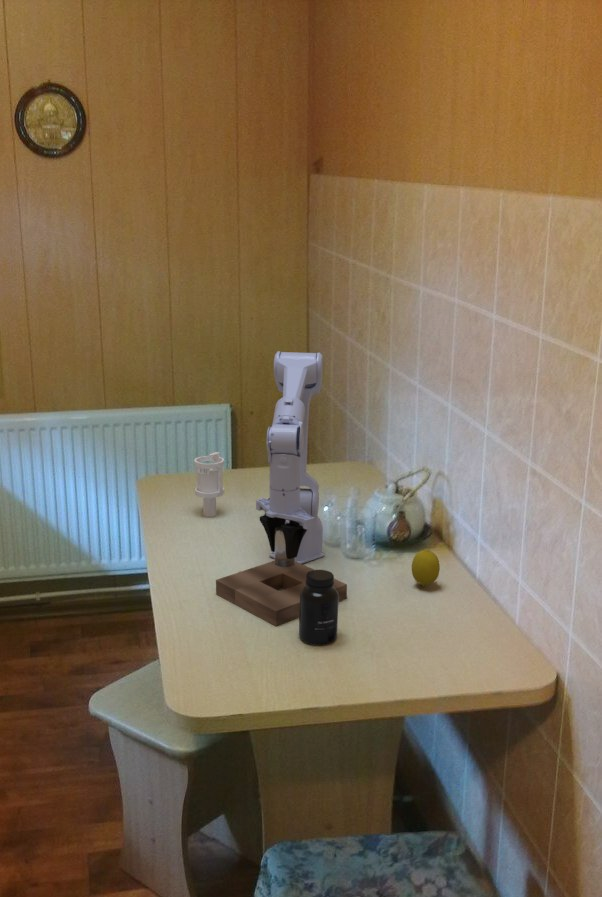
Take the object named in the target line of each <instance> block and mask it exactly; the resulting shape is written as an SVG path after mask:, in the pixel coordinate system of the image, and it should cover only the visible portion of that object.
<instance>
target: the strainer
mask: <svg viewBox="0 0 602 897" xmlns="http://www.w3.org/2000/svg"><path fill="white" fill-rule="evenodd" d="M193 460H194V463H193V465H194V466H195V469H196V473H195V474H196V487H195V488H194V495H195V496H196V497H199V498H202V501H203V502H202V503H203V506H202V507H203V517H207V518H214V517H216V516H217V498H218V497H219V498H220V497H222V496H223V495H224V494H225V487H224V486H223V485H224V484H223V466H224V465H225V458H223V457H221V452H218V451H215V452H212V453H209V454H208V455H203V456H198V457H195V458H194V459H193ZM207 461H208V462H210V461H212V462H213V463H203V462H207ZM207 471H208V472H207Z"/></svg>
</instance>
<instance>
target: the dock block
mask: <svg viewBox="0 0 602 897" xmlns="http://www.w3.org/2000/svg"><path fill="white" fill-rule="evenodd" d="M312 570H315V569H314V568H311V567H309V566H307V565H305V564H304V563H302V564H301V563H298V562H296V561H295V565H293V566H291V567H279V566H277V565H275V560H272V561H269V562H267V563H263V564H260V565H257V566H254V567H251V568H248V569H245V570H242V571H239V572H236V573H233V574H230V575H227V576H224V577H221V578H218V579H215V595H217V596H219V597H221V599H224V600H227V601H228V602H231V603H232V604H233V605H235V606H237V607H239V608H241V609H243V610H245V611H247V612H248V613H251V614H253V615H254V616H256V617H257V618H260V619H261V620H263V621H265V622H267V623H270V624H271V625H273V626H274V627H278V626H281V625H283V624H285V623H288V622H290V621H293V620H296V619H298V618H299V610H300V592H301V590H302V589H303V588H304V587H305V586H306V575H307V573H308V572H309V571H312ZM333 587H334V588H335V589H336V590H337V591H338V594H339V602H341V601H345V600H346V599H348V597H347V596H348V594H347V592H348V584H347V583H345V582H343V581H340V580H338V579H336V578H334V586H333ZM282 588H283V590H278V589H282Z"/></svg>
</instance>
